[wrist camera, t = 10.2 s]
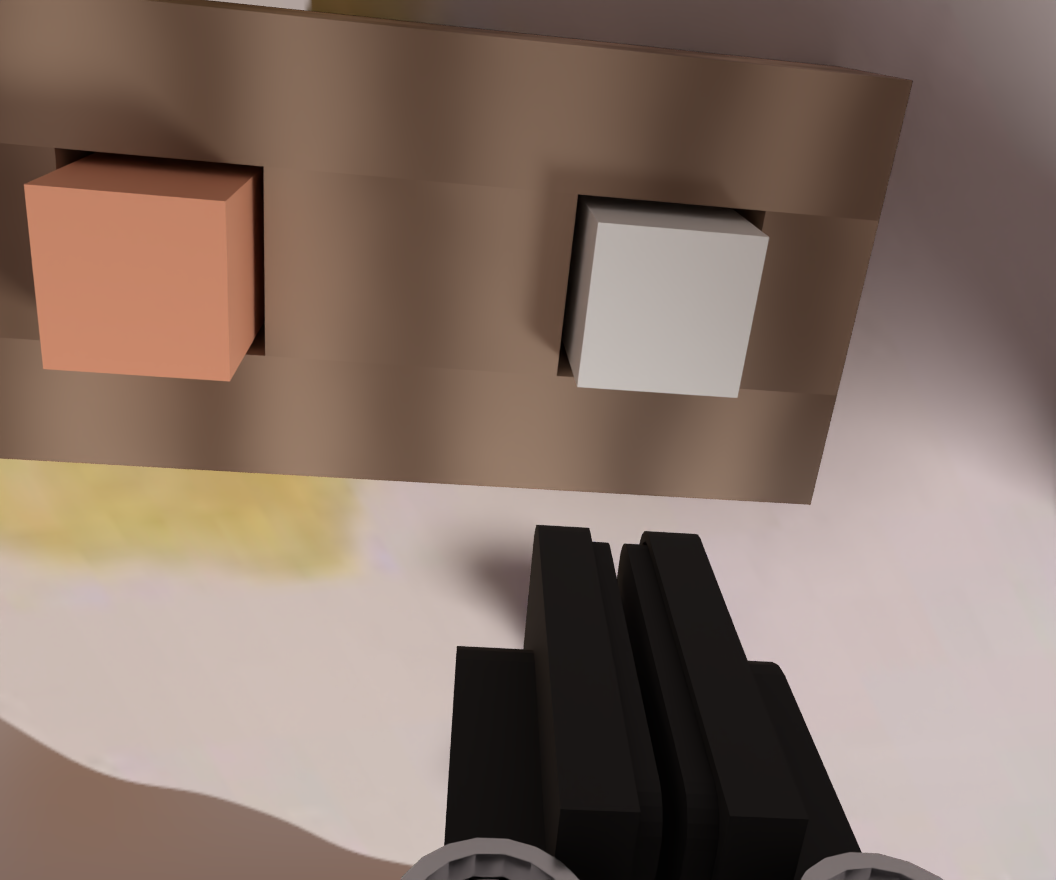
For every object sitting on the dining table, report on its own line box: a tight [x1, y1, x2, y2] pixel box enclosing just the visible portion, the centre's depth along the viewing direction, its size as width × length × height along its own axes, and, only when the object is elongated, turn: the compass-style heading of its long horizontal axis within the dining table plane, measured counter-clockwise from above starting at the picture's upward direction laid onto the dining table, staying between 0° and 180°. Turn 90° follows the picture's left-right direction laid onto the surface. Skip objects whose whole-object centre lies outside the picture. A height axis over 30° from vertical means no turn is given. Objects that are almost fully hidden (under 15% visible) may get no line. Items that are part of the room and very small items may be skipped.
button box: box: [0, 0, 913, 505], centre depth 33 cm, size 28×14×6 cm, turn 84°
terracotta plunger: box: [24, 152, 265, 381], centre depth 30 cm, size 5×5×8 cm
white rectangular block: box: [561, 194, 769, 398], centre depth 33 cm, size 5×5×8 cm
